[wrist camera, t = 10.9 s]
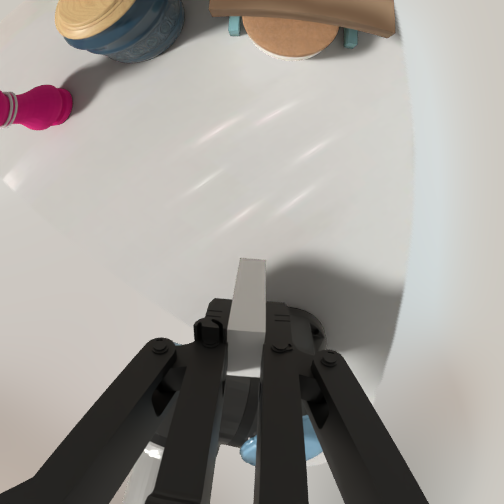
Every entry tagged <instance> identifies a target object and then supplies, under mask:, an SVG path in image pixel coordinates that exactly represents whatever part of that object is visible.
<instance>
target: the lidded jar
mask: <svg viewBox="0 0 504 504" xmlns="http://www.w3.org/2000/svg"><path fill="white" fill-rule="evenodd" d="M242 20H243V25H244V27H245V30H246V32H247V34H248V36H249V38H250V39H251V41H252V42H253V44H254V45H255V46H256V47H257V48H258V49H259V50H261V51H262V52H263V53H265V54H267V55H268V56H271V57H273V58H276V59H279V60H284V61H300V60H304V59H308V58H310V57H313V56H314V55H316V54H318V53H320V52H321V51H322V50H323V49H325V48H326V47H327V46H328V45H329V44H330V43H331V42H332V41H333V40H334V38H335V37H336V35H337V32H338V29H339V26H334V25H329V24H323V23H317V22H310V21H302V20H294V19H284V18H271V17H249V16H242Z"/></svg>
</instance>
